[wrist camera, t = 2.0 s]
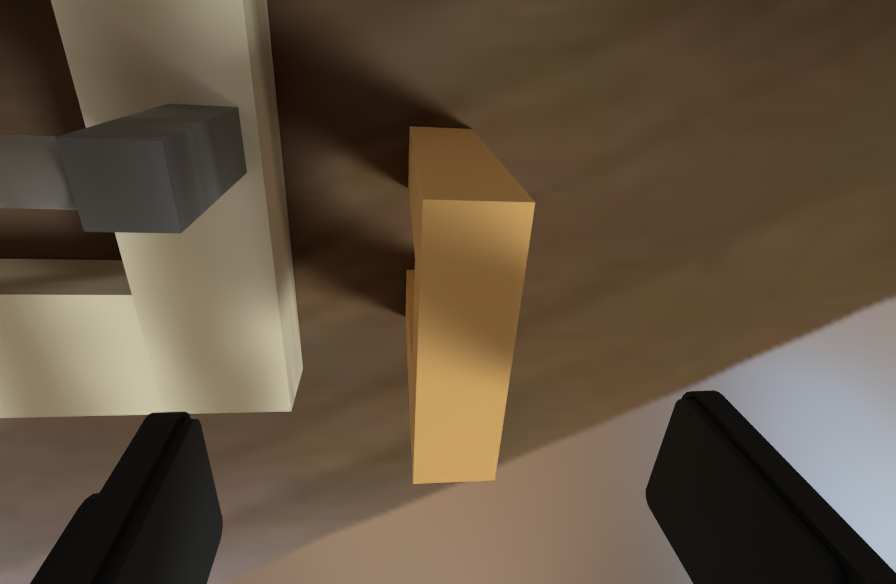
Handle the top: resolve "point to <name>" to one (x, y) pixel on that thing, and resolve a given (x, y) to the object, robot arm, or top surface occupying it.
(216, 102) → the square frame with handle
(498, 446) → the tan wooden block
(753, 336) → the top surface
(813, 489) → the robot arm
